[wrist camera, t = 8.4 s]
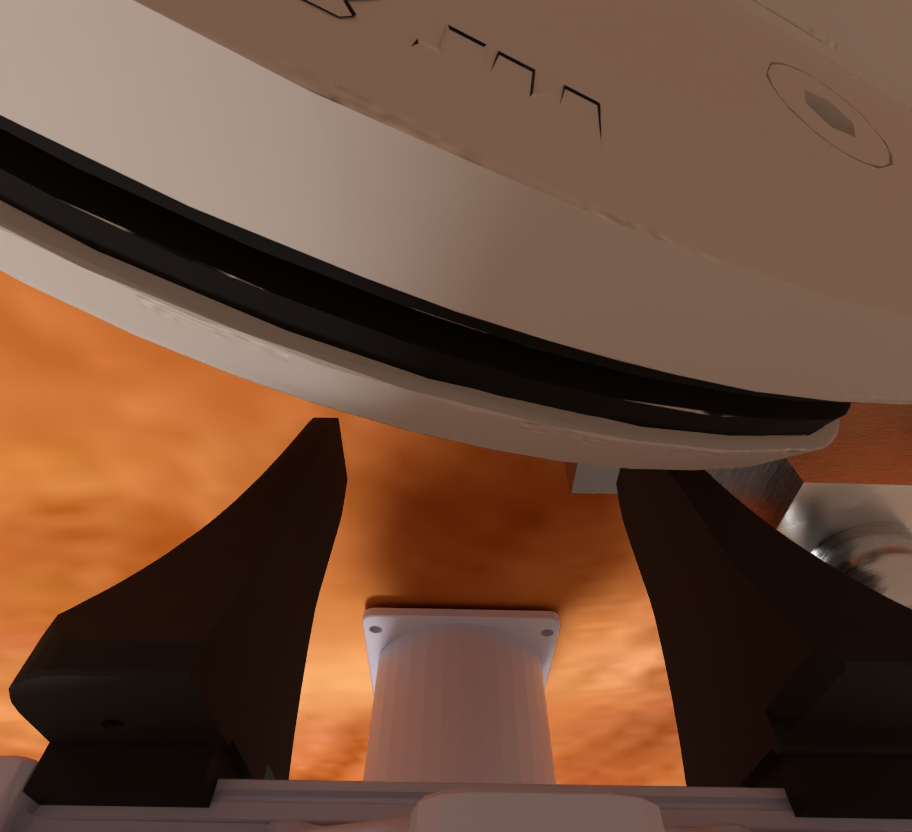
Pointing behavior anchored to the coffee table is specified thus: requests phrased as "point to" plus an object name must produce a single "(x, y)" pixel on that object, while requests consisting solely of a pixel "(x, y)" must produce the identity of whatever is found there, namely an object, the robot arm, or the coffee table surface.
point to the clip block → (844, 497)
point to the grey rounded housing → (485, 208)
